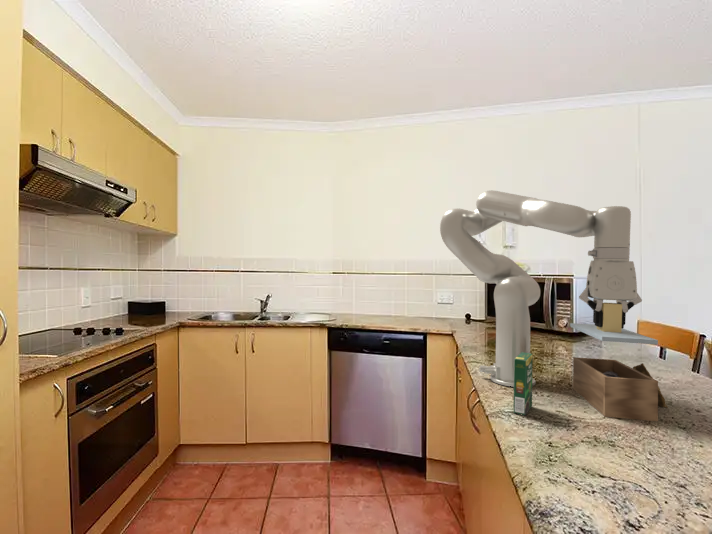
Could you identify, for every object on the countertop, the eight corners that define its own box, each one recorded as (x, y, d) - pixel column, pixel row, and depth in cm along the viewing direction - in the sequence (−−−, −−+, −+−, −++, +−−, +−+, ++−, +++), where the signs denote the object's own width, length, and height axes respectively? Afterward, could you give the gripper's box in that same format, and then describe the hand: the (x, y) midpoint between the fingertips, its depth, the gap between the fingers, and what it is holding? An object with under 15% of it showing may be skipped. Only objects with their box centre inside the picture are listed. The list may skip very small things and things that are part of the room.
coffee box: (525, 417, 84) (526, 359, 84) (512, 414, 86) (513, 357, 86) (533, 406, 91) (533, 353, 91) (520, 404, 92) (521, 351, 93)
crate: (604, 416, 85) (605, 377, 85) (572, 388, 105) (573, 357, 105) (657, 421, 83) (658, 381, 83) (614, 392, 103) (615, 359, 103)
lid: (601, 340, 85) (603, 306, 85) (570, 326, 106) (571, 298, 106) (657, 344, 83) (659, 309, 83) (613, 329, 104) (614, 300, 104)
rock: (618, 381, 106) (614, 384, 98) (641, 360, 103) (639, 361, 96) (656, 412, 100) (655, 418, 92) (682, 391, 97) (683, 395, 89)
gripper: (580, 254, 93) (578, 327, 93) (657, 255, 89) (654, 331, 89) (570, 255, 100) (567, 322, 100) (640, 256, 96) (638, 326, 96)
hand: (608, 326), depth 95 cm, fingers closed on lid, 4 cm apart
